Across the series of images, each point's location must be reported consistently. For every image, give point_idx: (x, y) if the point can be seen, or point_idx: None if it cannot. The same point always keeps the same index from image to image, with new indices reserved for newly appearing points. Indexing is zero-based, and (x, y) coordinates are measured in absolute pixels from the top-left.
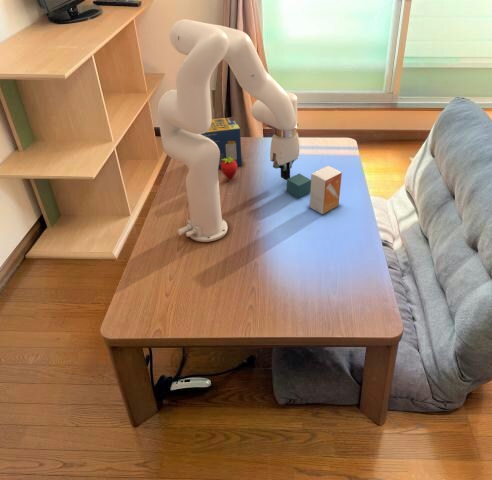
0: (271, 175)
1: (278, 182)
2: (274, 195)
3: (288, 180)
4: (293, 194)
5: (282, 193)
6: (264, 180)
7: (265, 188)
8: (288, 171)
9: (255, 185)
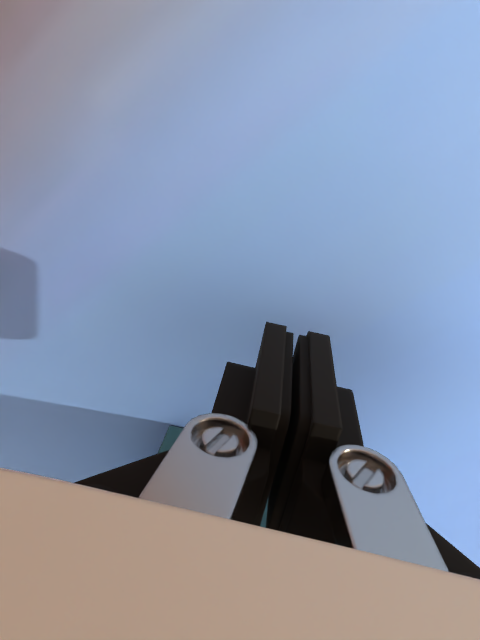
0: (366, 58)
1: (263, 260)
2: (36, 371)
3: None
4: None
5: (116, 410)
6: (188, 70)
7: (58, 216)
8: (266, 520)
9: (11, 56)
